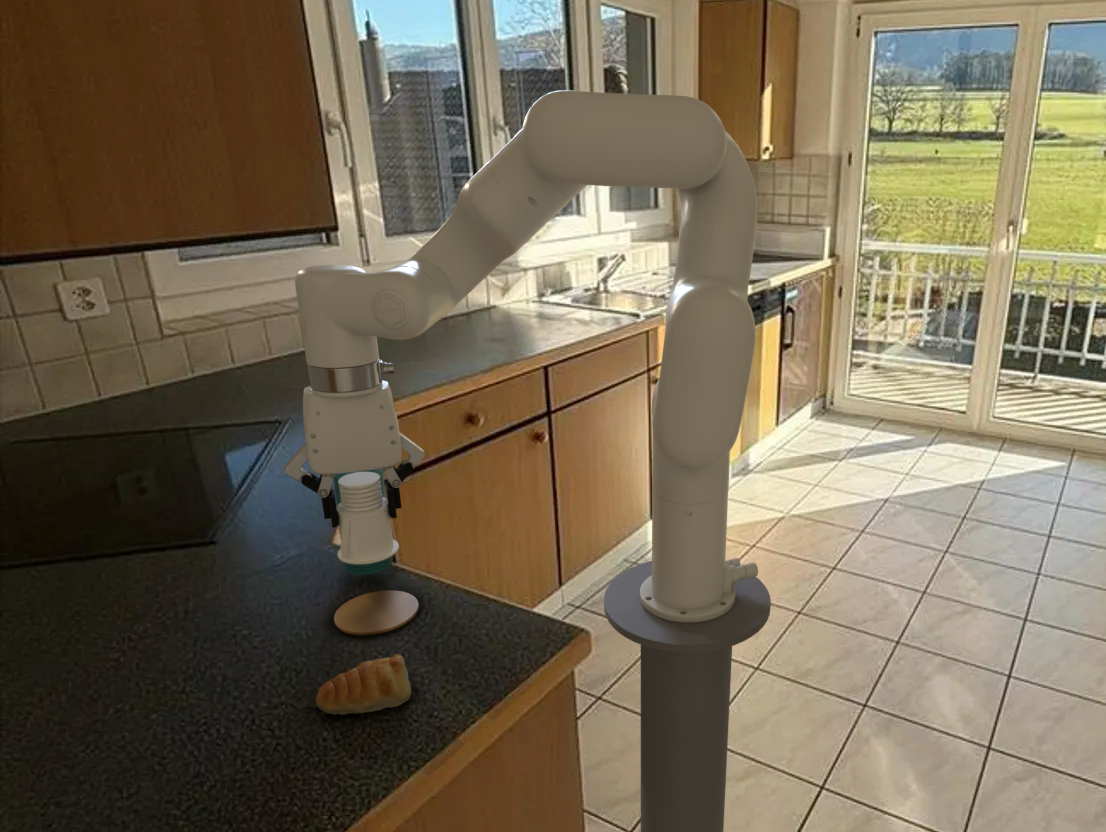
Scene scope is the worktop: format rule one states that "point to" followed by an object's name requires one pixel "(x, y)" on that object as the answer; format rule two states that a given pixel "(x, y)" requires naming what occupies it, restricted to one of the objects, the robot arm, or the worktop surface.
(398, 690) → the pastry
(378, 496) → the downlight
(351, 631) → the cork coaster
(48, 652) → the worktop surface
